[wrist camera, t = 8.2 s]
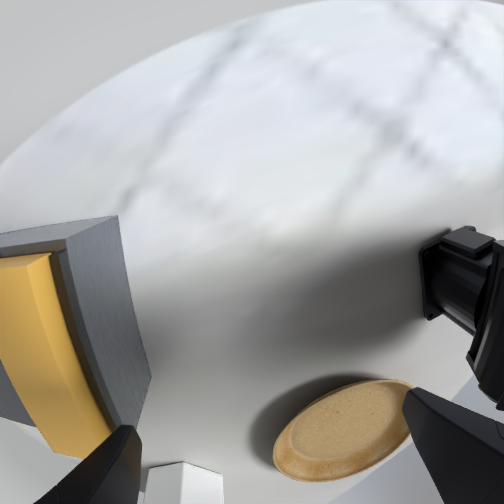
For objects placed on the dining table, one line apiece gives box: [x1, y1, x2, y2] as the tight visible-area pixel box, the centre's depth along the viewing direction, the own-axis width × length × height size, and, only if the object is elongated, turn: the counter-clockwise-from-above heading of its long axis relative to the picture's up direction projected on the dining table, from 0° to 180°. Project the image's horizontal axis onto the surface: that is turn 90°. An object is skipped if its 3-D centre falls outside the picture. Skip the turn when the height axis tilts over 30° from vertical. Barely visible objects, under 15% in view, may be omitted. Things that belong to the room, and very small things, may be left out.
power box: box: [0, 215, 151, 433], centre depth 15 cm, size 13×12×8 cm
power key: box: [0, 253, 112, 459], centre depth 11 cm, size 4×11×2 cm, turn 4°
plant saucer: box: [272, 379, 415, 482], centre depth 23 cm, size 15×15×3 cm
